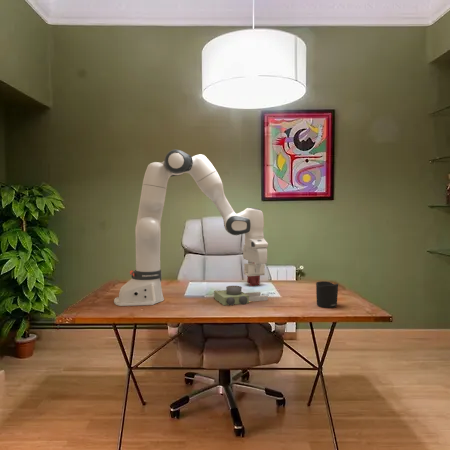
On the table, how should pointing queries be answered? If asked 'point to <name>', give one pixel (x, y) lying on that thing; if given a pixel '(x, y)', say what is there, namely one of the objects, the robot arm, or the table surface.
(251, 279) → the mechanical component
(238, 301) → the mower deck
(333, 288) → the pen holder
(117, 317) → the table surface
